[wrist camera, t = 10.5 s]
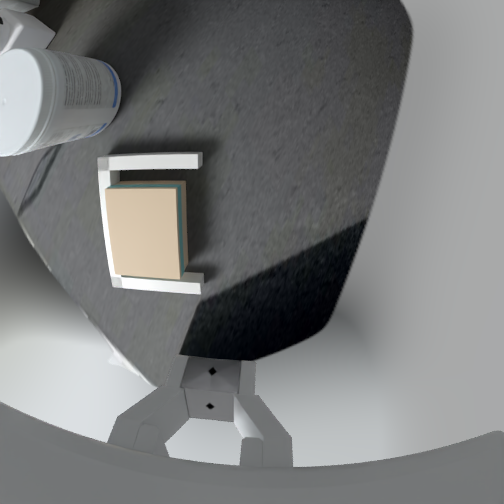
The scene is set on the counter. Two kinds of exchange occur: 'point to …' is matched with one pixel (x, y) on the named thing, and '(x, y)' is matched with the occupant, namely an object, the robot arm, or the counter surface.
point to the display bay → (107, 177)
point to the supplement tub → (53, 98)
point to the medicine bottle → (22, 31)
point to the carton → (148, 228)
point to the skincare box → (19, 5)
